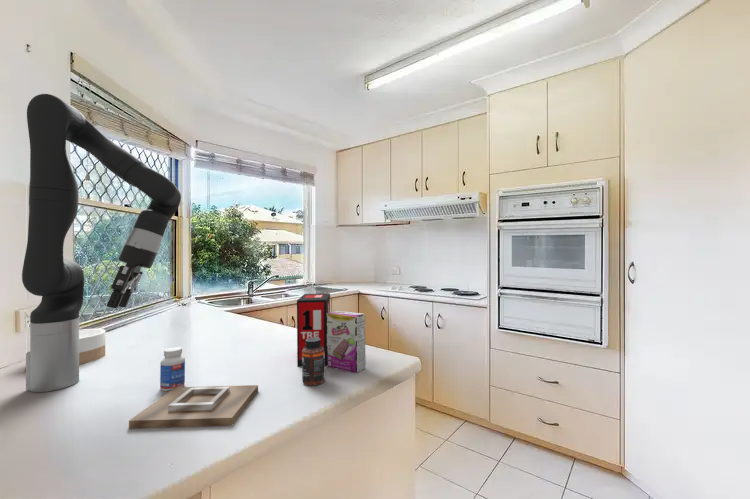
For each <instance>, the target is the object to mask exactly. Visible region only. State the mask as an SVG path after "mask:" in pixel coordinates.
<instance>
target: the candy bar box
mask: <svg viewBox="0 0 750 499" xmlns="http://www.w3.org/2000/svg"><path fill="white" fill-rule="evenodd" d="M326 314H327V366H326V367H327V368H332V369H337V370H340V371H345V372H349V373H355V374H359V373H360V372H362V371H364V370H365V369H366V314H365V313H362V312H351V311H345V310H336V309H335V310H333V311H331V310H330V312H328V313H326Z"/></svg>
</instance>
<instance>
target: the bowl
mask: <svg viewBox="0 0 750 499" xmlns="http://www.w3.org/2000/svg"><path fill="white" fill-rule="evenodd" d="M105 356H106V329H102V328H85V329H84V328H83V329H79V366H80V365H83V364H88V363H91V362H93V361H94V362H95V361H97V360H99V359H101V358H103V357H105Z"/></svg>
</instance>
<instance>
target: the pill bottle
mask: <svg viewBox="0 0 750 499" xmlns="http://www.w3.org/2000/svg"><path fill="white" fill-rule="evenodd" d="M182 354H183V347H181V346H176V347H169V348H165V349H164V350H163V356H164V357H163V358H162V359H161V360H160V368H159V369H160V370H159V372H160V373H159V374H160V375H159V376H160V378H159V381H160V382H159V386H160V387H159V388H160V390H161V391H164V392H170V391H171V390H173V389H174V388H175V387H185V383H186V382H185V380H186V376H185V375H186V357H185V356H183V355H182Z"/></svg>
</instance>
